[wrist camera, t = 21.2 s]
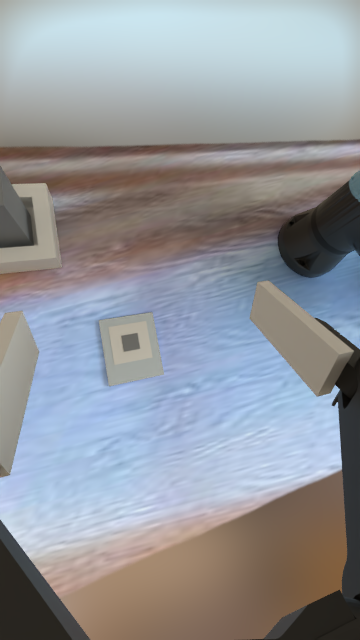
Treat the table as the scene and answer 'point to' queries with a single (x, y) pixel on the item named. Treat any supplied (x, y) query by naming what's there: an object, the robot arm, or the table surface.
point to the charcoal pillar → (13, 217)
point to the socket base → (35, 234)
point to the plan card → (130, 348)
